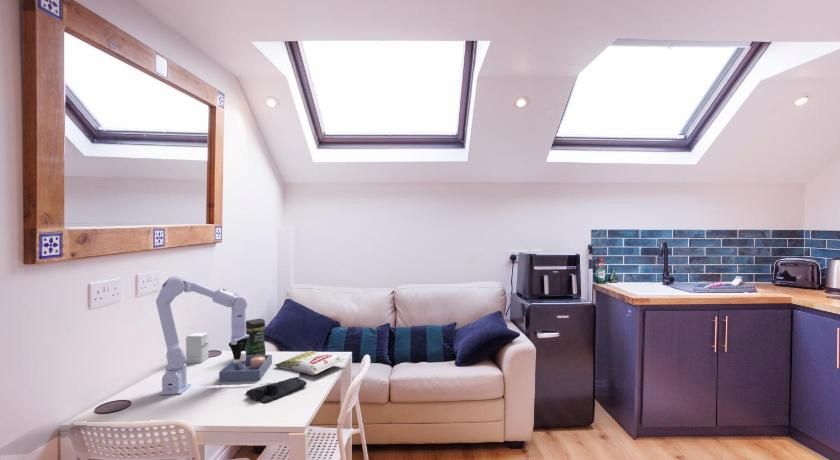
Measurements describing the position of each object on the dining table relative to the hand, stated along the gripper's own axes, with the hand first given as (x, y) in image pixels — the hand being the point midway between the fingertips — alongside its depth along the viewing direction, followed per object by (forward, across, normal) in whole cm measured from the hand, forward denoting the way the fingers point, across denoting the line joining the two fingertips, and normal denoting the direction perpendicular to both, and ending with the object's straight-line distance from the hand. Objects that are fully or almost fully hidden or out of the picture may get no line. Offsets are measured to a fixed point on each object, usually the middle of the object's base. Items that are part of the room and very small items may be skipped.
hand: (239, 357), depth 192 cm
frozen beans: (+9, +10, -28) cm, 31 cm away
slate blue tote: (+9, +5, -2) cm, 10 cm away
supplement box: (+9, +28, +27) cm, 40 cm away
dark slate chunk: (+10, -16, -19) cm, 27 cm away
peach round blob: (+8, +11, -5) cm, 14 cm away
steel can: (+5, 0, 0) cm, 5 cm away
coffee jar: (+9, +30, +1) cm, 31 cm away
